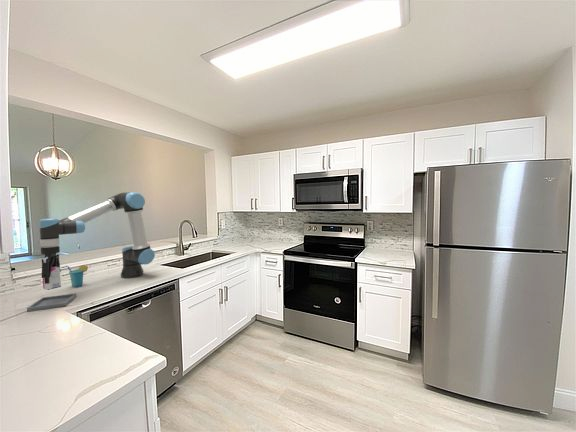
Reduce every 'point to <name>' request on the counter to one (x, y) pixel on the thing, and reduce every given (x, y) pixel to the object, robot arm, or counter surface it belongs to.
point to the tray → (52, 302)
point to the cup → (77, 275)
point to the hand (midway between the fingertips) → (52, 286)
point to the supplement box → (54, 278)
